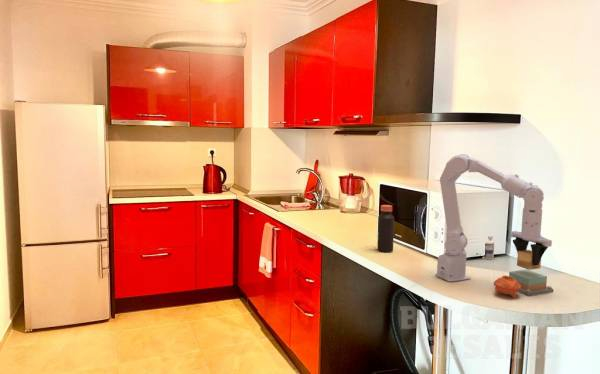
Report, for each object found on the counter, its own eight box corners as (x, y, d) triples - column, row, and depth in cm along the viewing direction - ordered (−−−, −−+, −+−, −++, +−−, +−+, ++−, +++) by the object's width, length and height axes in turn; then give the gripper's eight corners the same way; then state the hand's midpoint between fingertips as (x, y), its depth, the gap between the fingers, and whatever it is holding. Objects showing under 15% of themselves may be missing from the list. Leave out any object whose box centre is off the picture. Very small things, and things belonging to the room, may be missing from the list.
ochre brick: (529, 269, 149) (530, 254, 148) (516, 265, 154) (517, 251, 153) (540, 268, 151) (541, 253, 150) (527, 264, 155) (528, 249, 155)
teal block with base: (528, 296, 146) (529, 281, 145) (501, 285, 156) (502, 271, 156) (553, 291, 150) (554, 277, 149) (525, 281, 160) (526, 267, 160)
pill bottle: (481, 255, 194) (483, 232, 193) (495, 257, 190) (496, 234, 189) (477, 258, 190) (479, 235, 188) (491, 260, 186) (492, 237, 185)
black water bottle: (380, 248, 204) (381, 204, 202) (395, 250, 201) (396, 205, 198) (374, 251, 199) (376, 206, 196) (389, 253, 195) (391, 207, 193)
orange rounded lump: (495, 287, 153) (502, 269, 151) (519, 298, 148) (526, 280, 146) (487, 293, 147) (494, 274, 145) (511, 304, 142) (519, 285, 140)
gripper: (559, 226, 145) (556, 267, 147) (522, 217, 158) (520, 255, 160) (543, 227, 143) (540, 269, 144) (507, 219, 156) (504, 257, 158)
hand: (528, 262), depth 152 cm, fingers closed on ochre brick, 5 cm apart
